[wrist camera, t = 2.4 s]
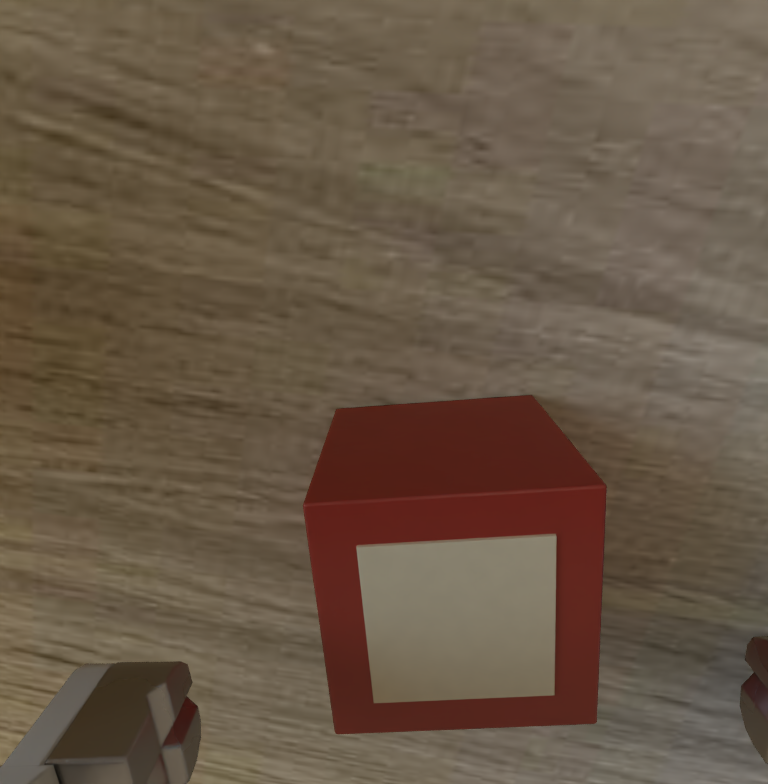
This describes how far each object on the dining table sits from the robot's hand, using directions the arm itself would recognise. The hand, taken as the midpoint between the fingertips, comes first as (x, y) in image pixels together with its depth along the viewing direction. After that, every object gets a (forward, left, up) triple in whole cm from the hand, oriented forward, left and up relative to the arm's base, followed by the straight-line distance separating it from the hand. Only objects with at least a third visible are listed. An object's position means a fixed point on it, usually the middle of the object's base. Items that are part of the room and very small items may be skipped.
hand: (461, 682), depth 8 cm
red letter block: (0, 0, -5) cm, 5 cm away
